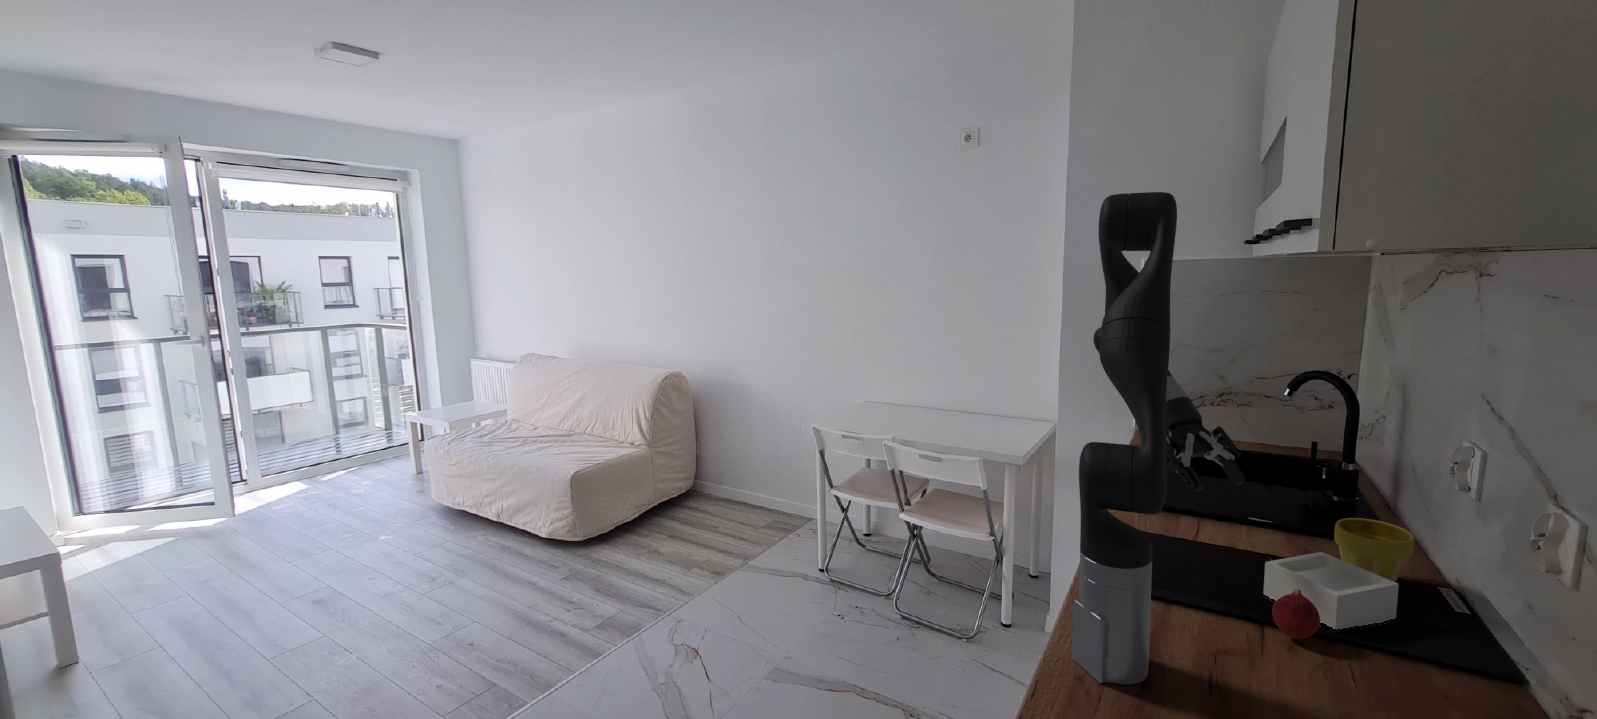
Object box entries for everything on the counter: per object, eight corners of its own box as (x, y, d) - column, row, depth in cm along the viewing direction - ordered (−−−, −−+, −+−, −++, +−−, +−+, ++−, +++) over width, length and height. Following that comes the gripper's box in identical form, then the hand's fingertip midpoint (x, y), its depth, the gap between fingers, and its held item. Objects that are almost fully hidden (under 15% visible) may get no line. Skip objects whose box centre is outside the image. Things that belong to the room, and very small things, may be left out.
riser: (1334, 635, 99) (1337, 595, 98) (1263, 597, 111) (1265, 561, 110) (1395, 622, 102) (1398, 583, 101) (1319, 586, 113) (1321, 551, 112)
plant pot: (1419, 601, 107) (1425, 545, 105) (1340, 589, 111) (1344, 536, 110) (1396, 573, 116) (1401, 521, 114) (1324, 564, 121) (1327, 514, 119)
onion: (1327, 651, 95) (1331, 600, 94) (1283, 648, 96) (1286, 598, 95) (1305, 629, 101) (1308, 581, 99) (1263, 626, 102) (1266, 579, 101)
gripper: (1146, 399, 114) (1199, 482, 104) (1212, 391, 117) (1268, 470, 108) (1124, 421, 120) (1171, 502, 110) (1187, 413, 123) (1238, 490, 114)
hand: (1219, 486), depth 109 cm, fingers open, 8 cm apart
